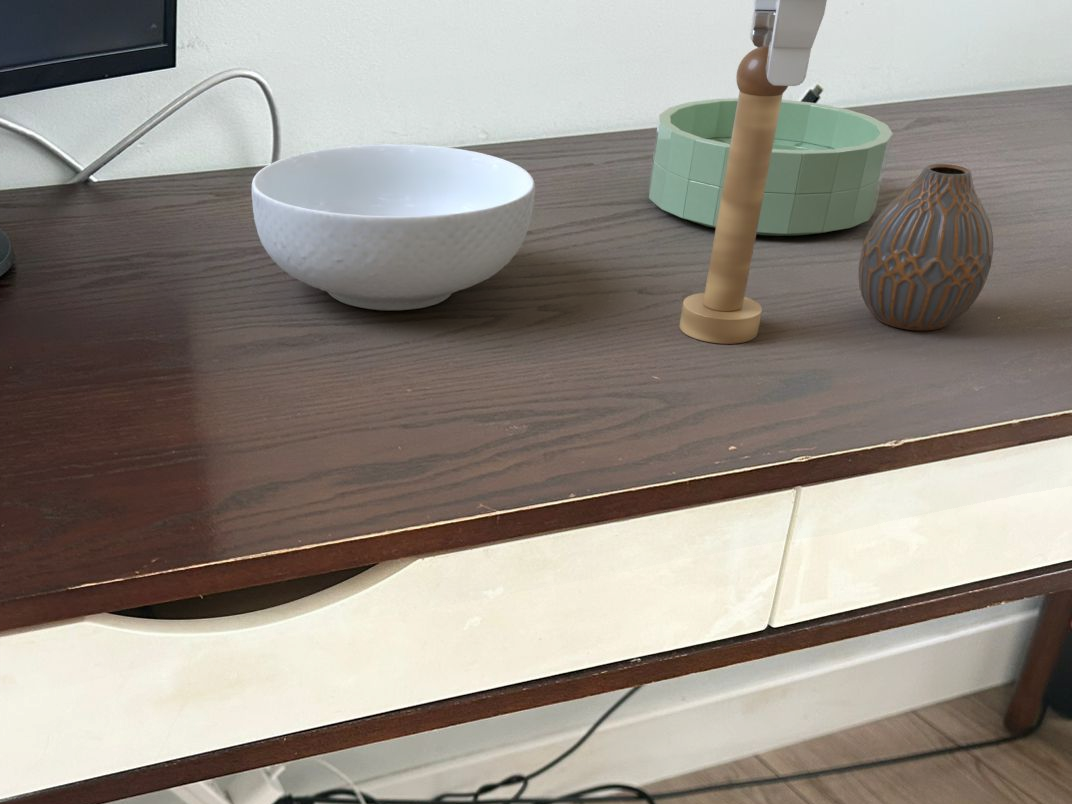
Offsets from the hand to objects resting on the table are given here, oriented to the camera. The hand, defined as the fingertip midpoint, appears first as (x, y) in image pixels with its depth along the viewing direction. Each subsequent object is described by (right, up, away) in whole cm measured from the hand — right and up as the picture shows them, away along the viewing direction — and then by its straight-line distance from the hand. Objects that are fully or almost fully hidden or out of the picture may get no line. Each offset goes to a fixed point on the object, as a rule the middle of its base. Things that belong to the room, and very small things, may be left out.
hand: (774, 63), depth 72 cm
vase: (+11, -12, +10) cm, 19 cm away
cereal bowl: (-19, -9, +14) cm, 25 cm away
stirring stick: (0, -12, +8) cm, 15 cm away
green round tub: (+9, 0, +28) cm, 29 cm away
